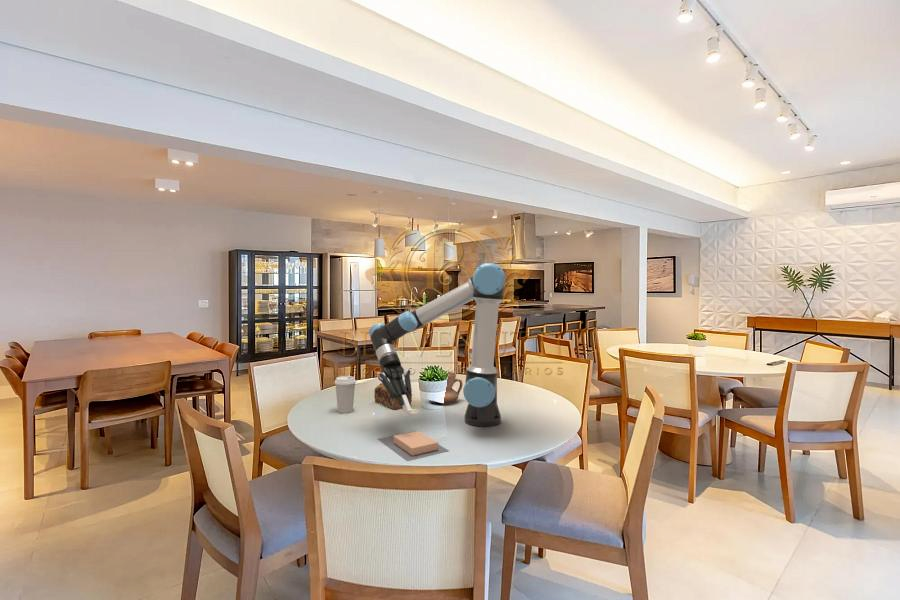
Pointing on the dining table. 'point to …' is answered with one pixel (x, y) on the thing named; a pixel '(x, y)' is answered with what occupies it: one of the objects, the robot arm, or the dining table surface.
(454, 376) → the ceramic jug
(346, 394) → the coffee cup
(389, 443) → the mat
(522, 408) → the dining table surface
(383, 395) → the bread
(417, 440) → the tile
